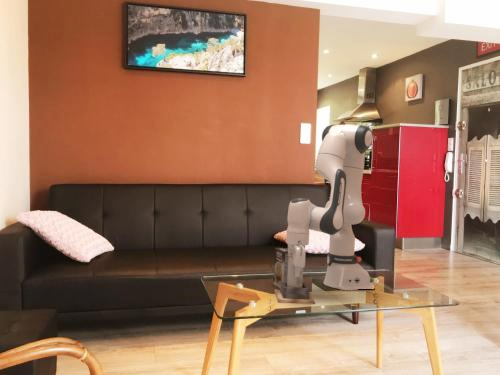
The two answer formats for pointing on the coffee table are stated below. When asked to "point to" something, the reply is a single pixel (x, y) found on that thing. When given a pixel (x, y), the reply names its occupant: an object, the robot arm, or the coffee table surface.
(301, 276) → the energy drink can
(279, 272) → the coffee box
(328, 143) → the robot arm
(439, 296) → the coffee table surface
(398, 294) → the coffee table surface
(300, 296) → the can stand
